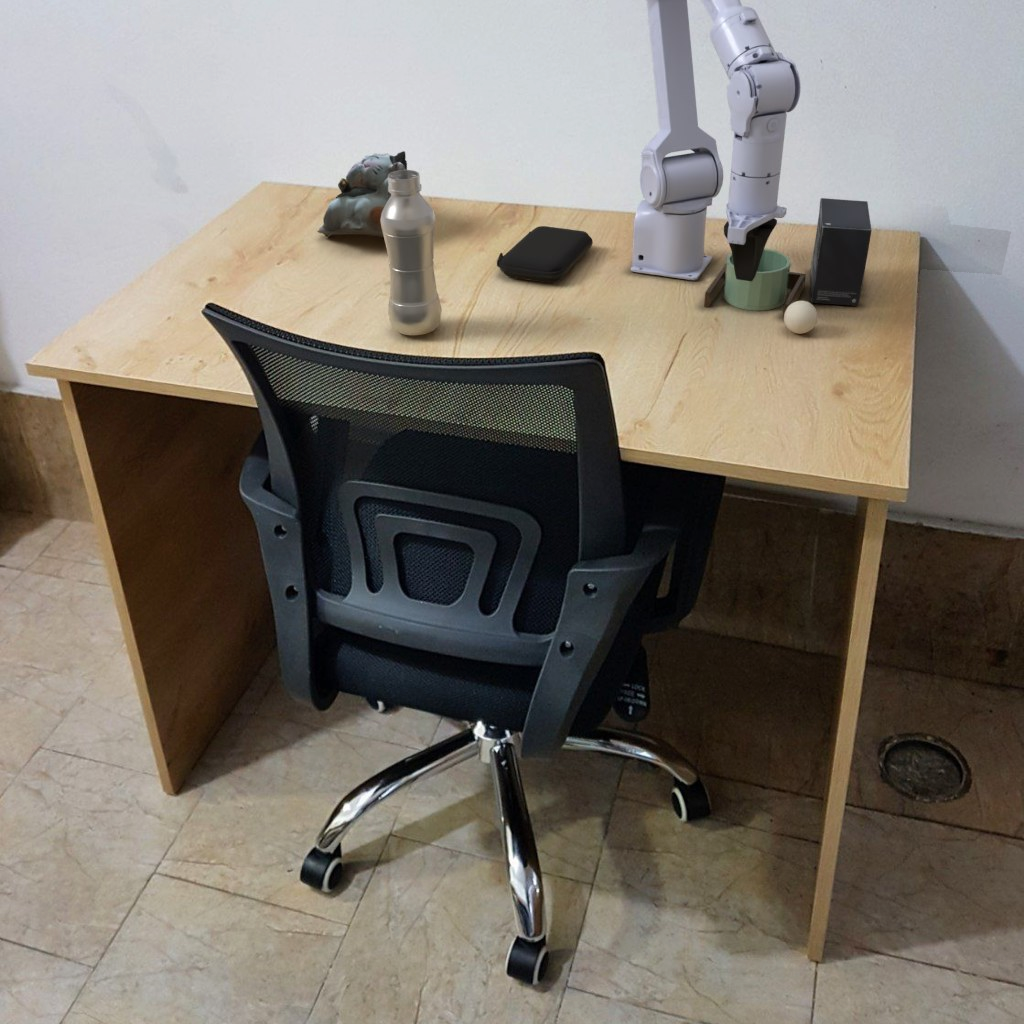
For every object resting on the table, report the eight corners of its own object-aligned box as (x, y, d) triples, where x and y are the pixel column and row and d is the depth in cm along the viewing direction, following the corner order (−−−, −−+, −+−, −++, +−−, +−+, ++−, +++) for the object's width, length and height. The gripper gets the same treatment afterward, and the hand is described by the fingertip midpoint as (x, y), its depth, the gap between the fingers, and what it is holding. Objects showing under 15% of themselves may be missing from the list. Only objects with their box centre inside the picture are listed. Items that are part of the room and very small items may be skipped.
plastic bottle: (390, 320, 146) (374, 167, 135) (442, 317, 147) (431, 164, 135) (390, 343, 141) (373, 185, 129) (444, 339, 141) (432, 182, 130)
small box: (861, 307, 145) (874, 229, 139) (809, 304, 146) (819, 226, 140) (858, 274, 153) (869, 198, 147) (808, 271, 154) (818, 196, 148)
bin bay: (704, 306, 147) (705, 292, 145) (724, 276, 154) (725, 262, 153) (787, 319, 143) (789, 304, 142) (804, 287, 150) (806, 273, 149)
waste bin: (716, 305, 147) (719, 268, 144) (732, 281, 153) (735, 244, 150) (778, 314, 144) (782, 276, 141) (791, 289, 150) (796, 252, 147)
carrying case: (528, 239, 167) (487, 278, 156) (528, 219, 165) (486, 257, 154) (596, 248, 163) (559, 289, 152) (596, 228, 162) (559, 267, 151)
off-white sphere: (778, 336, 139) (782, 306, 137) (786, 322, 142) (789, 293, 140) (811, 341, 138) (815, 311, 135) (818, 327, 141) (822, 297, 138)
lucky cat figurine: (306, 233, 172) (320, 139, 170) (378, 248, 178) (392, 158, 176) (343, 234, 159) (359, 133, 157) (419, 251, 165) (435, 154, 163)
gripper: (775, 194, 126) (763, 306, 134) (803, 154, 136) (790, 260, 144) (713, 187, 128) (705, 298, 136) (745, 148, 139) (736, 253, 147)
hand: (745, 278), depth 140 cm, fingers closed
